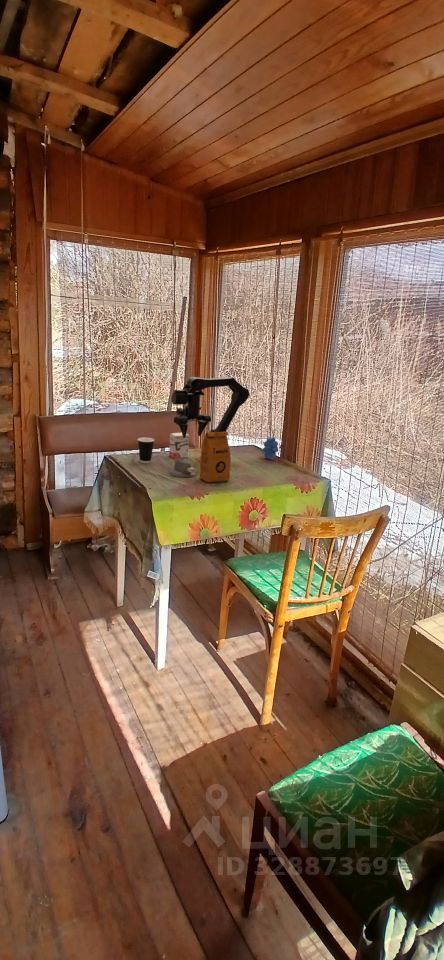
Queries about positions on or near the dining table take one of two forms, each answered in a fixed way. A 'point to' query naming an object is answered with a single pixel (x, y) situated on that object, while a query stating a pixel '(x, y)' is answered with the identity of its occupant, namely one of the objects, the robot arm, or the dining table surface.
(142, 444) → the dixie cup
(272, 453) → the grapes
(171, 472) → the gray plate
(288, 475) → the dining table surface
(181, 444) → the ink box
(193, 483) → the dining table surface
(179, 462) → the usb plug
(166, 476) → the dining table surface
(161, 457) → the dining table surface
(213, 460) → the coffee package
